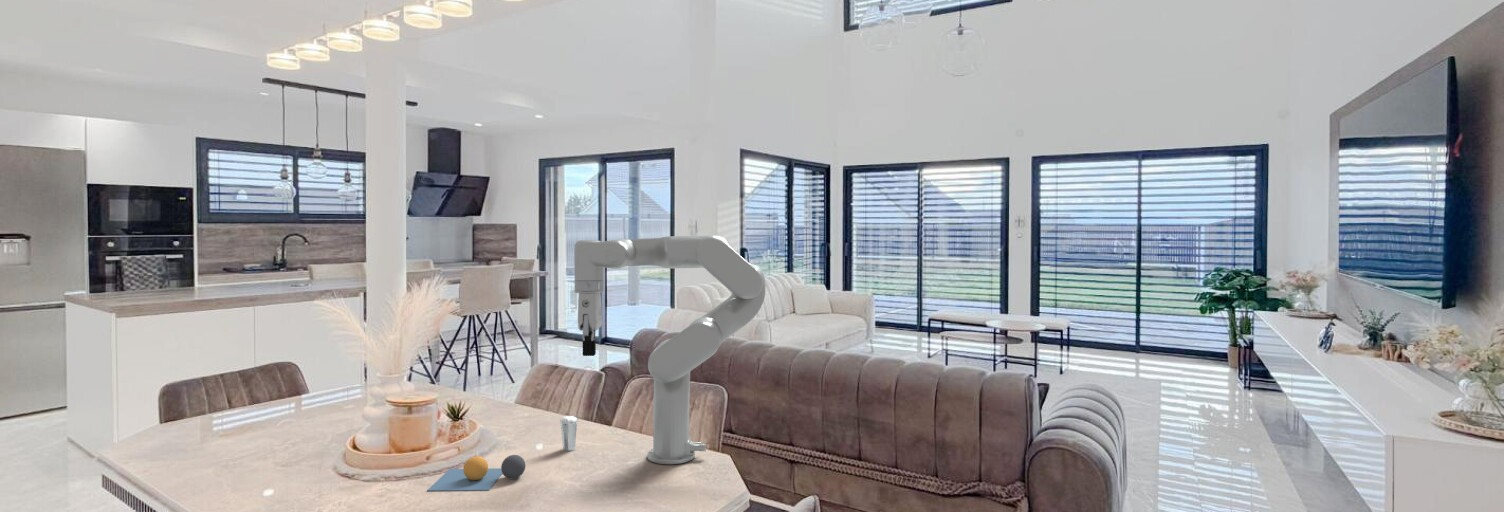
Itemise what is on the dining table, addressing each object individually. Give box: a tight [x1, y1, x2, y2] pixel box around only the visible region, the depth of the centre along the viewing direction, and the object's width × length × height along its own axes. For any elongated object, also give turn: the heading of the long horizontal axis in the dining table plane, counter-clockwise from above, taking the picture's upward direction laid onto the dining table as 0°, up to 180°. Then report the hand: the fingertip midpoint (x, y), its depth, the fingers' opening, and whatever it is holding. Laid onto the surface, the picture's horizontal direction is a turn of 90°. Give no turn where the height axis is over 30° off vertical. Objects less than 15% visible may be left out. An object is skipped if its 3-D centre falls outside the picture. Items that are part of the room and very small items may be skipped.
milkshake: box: [560, 414, 580, 452], centre depth 193 cm, size 4×5×10 cm
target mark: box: [426, 467, 503, 492], centre depth 170 cm, size 14×14×1 cm
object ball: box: [462, 455, 489, 480], centre depth 170 cm, size 6×6×6 cm
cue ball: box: [500, 454, 526, 480], centre depth 171 cm, size 6×6×6 cm
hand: (589, 355), depth 187 cm, fingers closed
